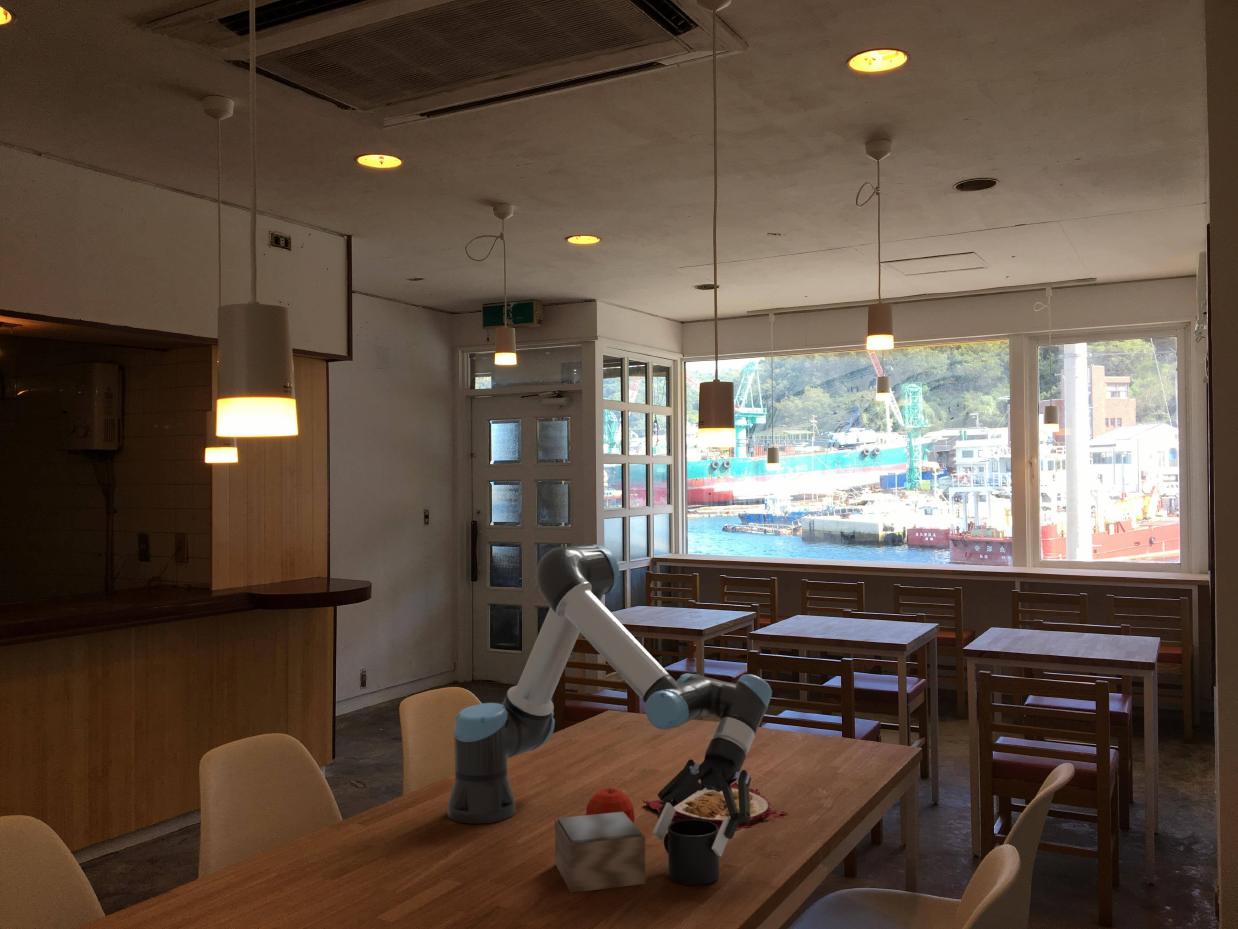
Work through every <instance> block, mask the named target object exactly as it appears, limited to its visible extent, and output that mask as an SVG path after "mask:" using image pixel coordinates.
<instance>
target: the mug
mask: <svg viewBox="0 0 1238 929" xmlns="http://www.w3.org/2000/svg"><path fill="white" fill-rule="evenodd" d="M718 828H719V827H718V826H717V825H716V824H714V823H712V822H709V821H705V820H697V819H688V820H680V821H677V820H675V821H673V822H672V823H671V822H670V824H669V826H668V829H667V833H665V835H664V837H663V845H664V846H663V847H664V850H665V851H666V853H667V854H668V855H667V857H668V860H667V861H668V862H667V863H668V876H669V879H670V880H671V881H673V882H675V883H677V884H680V885H683V886H684V885H685V886H704V885H709V884H713V883H714V882H716V881H717V880H718V879H719V876H720V856H717V854H716V853H715V852H714V851H713V849H712V846H713V844H714V841H715V839H716V837H717V834H718V832H719V829H718Z"/></svg>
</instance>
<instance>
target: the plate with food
mask: <svg viewBox="0 0 1238 929" xmlns="http://www.w3.org/2000/svg"><path fill="white" fill-rule="evenodd" d="M730 786H731V789H732V792H733V797H734V800H735V803H736V806H737V809H738V813H739V795H738V781H735V782H733V783H732V784H731V785H730ZM671 801H672V800H671ZM749 801H750V818H751V820H750V822H749V823H745V822H742V823H740V824H738V826H737V829H736V831H740V830H741V829H747V828H750V826H751V827H754V825H752V824H753V823H754V824H755V823H757V822H758V821H762V820H764V819H766V818H768V819H767V822H770V821H771V823H774V821H775V820H776V819H778V818H780V819H782V818H783V819H784V818H785V816H789V815H790V814H789V813H788V812H786V811H783V810H782V811H781V812H779V813H778V809H777V810H776V809H773V810H772V808H771V807H770V806H772V807H773V808H774V806H775V805H771V804H772V803H770V802H769V800H768V799H767V798H766V797H765V796H762V795H761V792H760V791H759V789H758V788H756V789H755V790H754V789H753V788H749ZM642 803H643V804H645V805H646V806H647V807H648V806H649V807H650V809H653V810H657V812H658V813H659V811H660V809H661V807H662V805H663V802H662V801H661V800H660V799H655V800H651V801H649V800H645V799H643V800H642ZM673 808H674V809H675V810H676V811H675V813H674V816H673V818H672V820H671V821H680V820H688V819H697V820H705V821H709V822H712V823H714V824H716V825H717V826H718V829H719V830H720V827H721V825H722V823H723V820H724V818H725V816H727V817H729V818H730V816H729V815H730V814H729V811H728V808H727V805H726V802H725V798H724V795H723V792H722V791H720V792H717V791H715V790H707V789H706V788H705V789H703V790H701V791H697V792H696V793H694V794H693V795H691V796H690V797H688V798H687V799H685V800H684V801H682V802H681V803H679V804H678V805H676V806H675V807H673ZM658 813H657V814H658ZM783 815H784V816H783ZM770 816H773V817H772V818H771V817H770Z"/></svg>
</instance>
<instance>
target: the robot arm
mask: <svg viewBox="0 0 1238 929" xmlns="http://www.w3.org/2000/svg"><path fill="white" fill-rule="evenodd" d="M535 572H536V574H535V580H536V585H537V588H538V591H539V593H540V594H541V597H542V598H543V600H544V602H546V604H547V605H548V607H549V610H548V612H547V613H546V616H545V619H544V621H543V623H542V625H541V627H540V631H539V633H538V636H537V638H536V640H535V642H534V645H533V647H532V649H531V652H530V654H529V657H528V659H527V661H526V664H525V667H524V669H523V671H522V673H521V675H520V677H519V680H518V682H517V685H514V686H511V687H510V688H508V690H507V691H506V692H507V693H506V695H505V696H504V699H503V702H502V703H497V702H485V703H484V702H483V703H480V704H474V705H470V706H467V707H465V708H463V709H461V710H460V711H459V712H458V713H457V714H456V715H455V719H454V720H455V721H454V729H453V736H454V773H455V774H454V776H455V777H454V783H453V786H452V790H451V792H450V796H449V799H448V802H447V817H448V818H449V819H450V820H451V821H453V822H458V823H463V824H474V825H476V824H489V823H495V822H500V821H504V820H507V819H509V818H510V817H511V818H512V816H514V815H515V814H516V799H515V797H514V794H513V790H512V787H511V784H510V781H509V778H508V759H510V758H512V757H515V756H518V755H521V754H524V753H528V752H531V751H533V750H536V749H538V748H539V747H541V746H542V745H544V744H545V743H547V742H548V741H549V739H551V736H552V735H553V732H554V728H555V725H556V724H555V722H556V720H555V718H554V717H553V716H554V715H555V714H554V709H555V706H554V703H553V701H552V698H553V695H554V693H555V690H556V688H557V686H558V684H559V682H560V679H561V676H562V674H563V672H564V670H565V668H566V665H567V662H568V660H569V658H570V656H571V654H572V651H573V649H574V648H575V647H574V646H575V644H576V641H577V640H578V637H579V636H580V634H581V635H582V636H583V637H584V638H585V640H586V641H588V643H589V644H590V645H591V646H592V647H593V648H594V649H595V650H596V651H597V652H598V653H599V655H600V656H601V657H602V658H603V659H604V660H605V661H606V662H607V663H608V664H609V666H611V668H613V670H614V671H615V672H616V673H617V674H618V675H619V676H620V677H621V678H622V680H623V681H625V683H626V684H627V685H628V686H629V687H630V688H631V689H632V690H633V691H634V693H635V694H637V696H638V697H640V699H641V700H642V701H643V702H644V703H645V707H644V710H645V715H646V717H647V720H648V722H649V723H650V724H651V725H652V726H653V727H655V728H657V729H659V730H662V731H663V730H664V731H666V730H670V729H676V728H679V727H681V726H682V725H684V724H685V723H686V724H687V723H688V722H691V721H694V720H696V719H698V718H701V717H703V716H709V717H713V718H717V719H720V721H719V722H718V724H717V726H716V729H715V730H714V732H713V735H712V738H711V739H710V742H709V744H708V746H707V748H706V751H705V753H704V759H703V760H702V762H701V763H697V762H695V761H694V760H693V759H688V760H687V762H686V763H685V765H684V767H683V768H682V769H681V770H680V772H679V771H678V773H677V774H676V775H675V776H674V777H673V778H672V779H671V780H670V781H668V783H667V784H666V785H665V786H664V787H663V788H662V789H660V791H659V792H658V793H657V797H658V799H659V800H661V801H662V802H663V804H661V806H662V807H661V809H660V811H659V813H657V818H658V820H657V822H656V824H655V827H654V829H653V831H652V834H653V835H654V837H656V839H658V841H661V842H662V841H664V837H665V835H666V834H667V833H666V832H668V826H669V825H670V824H671V822H672V821H673V820H672V818H673V816H674V813H675V811H676V810H675V809H674V808H673V807H675V806H676V805H678V804H679V803H681V802H682V801H684V800H685V799H687V798H688V797H690V796H691V795H693V794H694V793H696V792H697V791H701V790H703V789H705V788H706V789H707V790H715V791H717V792H720V791H722V792H723V795H724V798H725V802H726V805H727V808H728V811H729V814H730V815H729V816H730V818H729V817H727V816H725V818H724V820H723V823H722V825H721V827H719V828H720V830H719V832H718V834H717V837H716V839H715V841H714V844H713V846H712V849H713V851H714V852H715V853H716V854H717V856H719V858H720V857H722V855H723V853H724V851H725V849H726V847H727V843H728V841H729V840H733V838H734V835H735V833H736V831H737V830H736V829H738V828H737V826H738V824H740V823H742V822H745V823H749V822H750V820H751V818H750V801H749V789H750V785H751V783H752V782H751V781H752V777H751V776H750V775H749V773H748V772H747V770H746V769H742V767H743V765H744V763H745V760H746V758H747V754H749V750H750V748H751V746H752V743H753V742H754V739H755V736H756V734H757V731H758V729H759V727H760V724H761V722H762V720H763V718H764V716H765V714H766V712H767V711H768V708H769V704H770V701H771V698H772V696H773V690H772V688H771V686H770V684H769V682H767V681H766V680H765V679H763V678H761V677H760V676H757V675H755V674H750V673H749V674H742V675H741V676H740V677H739V678H738V679H737V681H736V683H734V682H729V681H728V682H727V681H723V680H719V679H717V678H716V679H715V678H711V677H709V676H708V677H707V676H704V675H701V674H698V673H697V674H693V673H684V674H683V673H682V674H681V675H680V676H679V678H678V679H677V680H676V679H675V678H673V677H672V675H670V673H669V672H667V670H666V669H664V667H663V666H662V665H661V664H660V663H659V662H658V661H657V660H656V659H655V657H653V655H652V654H650V652H649V651H647V650H648V649H646V648H645V646H643V645H642V644H641V642H640V641H638V639H636V638H635V636H634V635H632V633H631V632H630V631H629V630H628V629H627V628H626V627H625V626H624V624H622V623H621V621H620V620H618V618H617V617H616V616H615V615H614V614H613V613H612V612H611V611H610V610H609V609H608V608H607V607H606V605H605V604H604V603H602V598H603V596H604V595H607V594H609V593H611V592H612V591H613V590H614V589H615V588H616V587H617V584H618V582H619V579H620V567H619V565H618V561H617V558H616V556H615V555H614V554H613V552H612V551H611V550H610V549H608V548H607V547H605V546H603V545H601V544H592V543H584V544H583V545H573V546H572V545H570V546H557V547H555V548H552V549H551V550H548V551H547V552H546V553H545V554H544V555H543V556H542V557H541V558H540V560H539V562H538V564H537V567H536V571H535ZM741 769H742V770H741ZM699 781H700V782H699ZM735 782H737V784H738V795H739V813H738V809H737V806H736V803H735V800H734V797H733V792H732V789H731V786H730V785H732V784H734V783H735ZM671 800H672V801H671Z"/></svg>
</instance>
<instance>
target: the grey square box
mask: <svg viewBox="0 0 1238 929" xmlns="http://www.w3.org/2000/svg"><path fill="white" fill-rule="evenodd" d="M634 823H635V822H634ZM634 823H633V822H632V821H631V820H630V819H629V818H628V816H627V815H626V814H625V813H624V812H615V813H605V814H595V815H586V814H585V815H578V816H577V815H576V816H566V817H558V818H557V819H555V821H554V825H555V826H554V830H555V831H554V841H555V842H554V844H555V847H554V848H555V850H554V851H555V852H554V853H555V854H554V855H555V858H554V859H555V867H556V868H557V870H558V871H559V874H560V876H561V878H562V879H563V881H564V883H565V885H566V886H567V889H568V891H569V892H570V893H579V892H588V891H596V890H597V891H598V890H604V889H615V888H621V887H627V886H628V887H630V886H638V885H639V886H640V885H646V836H644V835H645V834H643V833H642V832H641V830H639V828H638V827H637V826H636V824H634Z"/></svg>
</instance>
